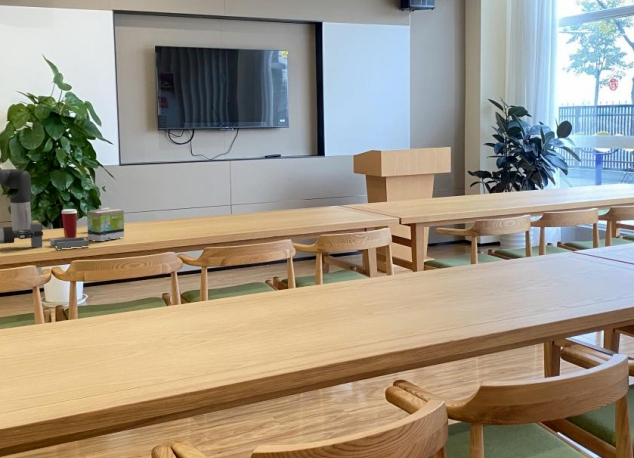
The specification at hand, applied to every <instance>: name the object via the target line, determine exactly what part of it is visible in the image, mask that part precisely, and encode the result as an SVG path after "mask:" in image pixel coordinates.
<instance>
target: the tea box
mask: <svg viewBox="0 0 634 458" xmlns="http://www.w3.org/2000/svg"><path fill="white" fill-rule="evenodd" d="M102 209H103V208H102ZM124 211H125V210H123V209H118V208H117V209H116V208H109V209H103V210H96V209H94V210H88V211H87V213H86V214H87V223H86V224H87V240H88V241H89V240H95V241H103V240H109V239H114V238H120V237H124V238H125V218H124V217H125V216H124V214H125V213H124ZM95 241H94V242H95ZM109 241H110V240H109Z"/></svg>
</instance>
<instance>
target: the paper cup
mask: <svg viewBox="0 0 634 458" xmlns="http://www.w3.org/2000/svg"><path fill="white" fill-rule="evenodd" d="M60 213H61V217H62V218H61V219H62V227H63V236H64V239H65V238H77V234H78V233H77V231H78V230H77V223H78V222H77V219H78V218H77V216H78V215H77V213H78V211H77V209H73V208H67V209H65V208H64V209H62V210H61V212H60Z"/></svg>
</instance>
